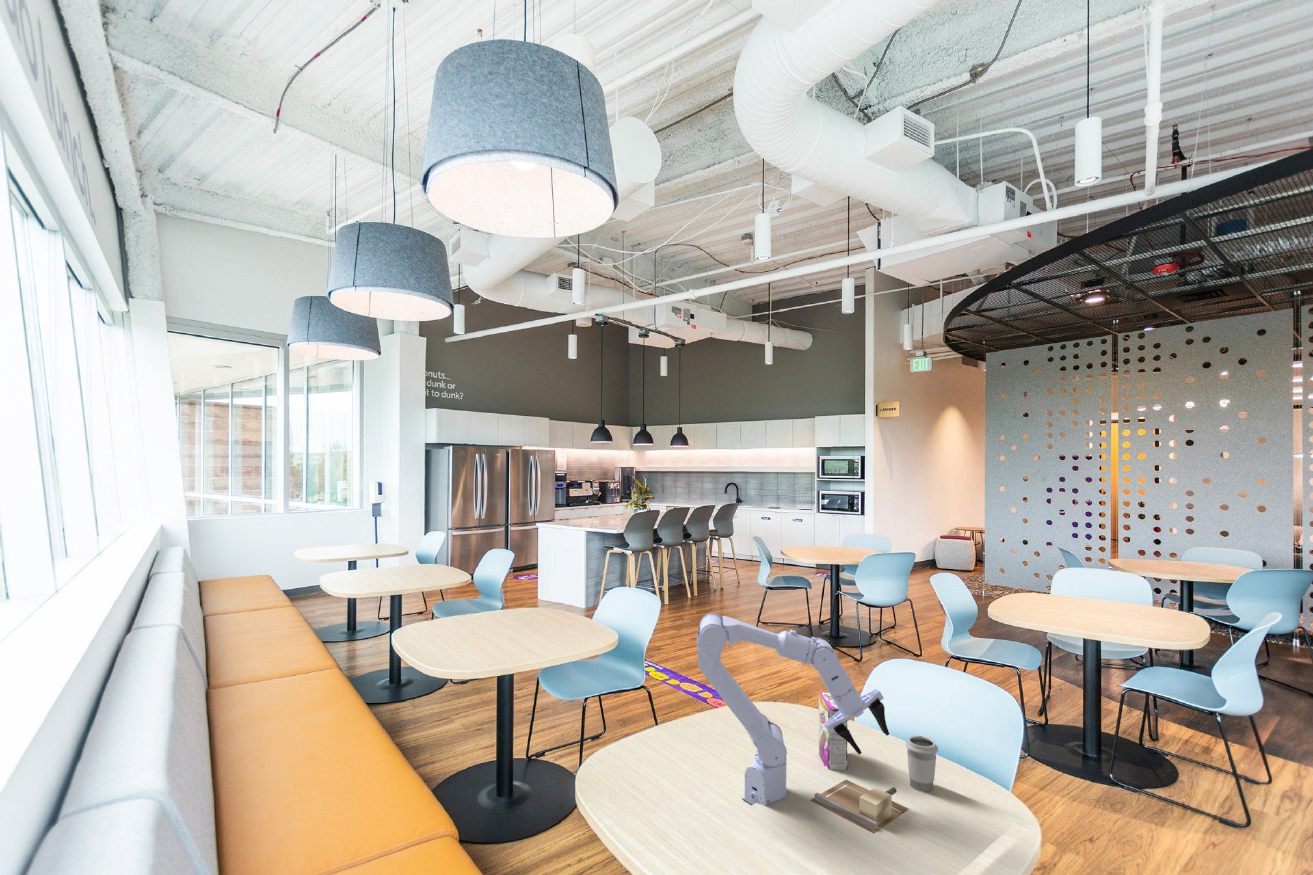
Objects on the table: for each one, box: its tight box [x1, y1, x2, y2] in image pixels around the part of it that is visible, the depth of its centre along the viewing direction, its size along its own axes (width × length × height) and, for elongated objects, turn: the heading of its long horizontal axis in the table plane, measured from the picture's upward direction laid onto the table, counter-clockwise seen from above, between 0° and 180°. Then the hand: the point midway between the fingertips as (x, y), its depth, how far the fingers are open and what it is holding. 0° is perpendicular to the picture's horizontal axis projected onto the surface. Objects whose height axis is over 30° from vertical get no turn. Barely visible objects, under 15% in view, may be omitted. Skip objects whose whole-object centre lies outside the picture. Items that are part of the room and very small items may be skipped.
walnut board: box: [809, 779, 910, 834], centre depth 146 cm, size 14×16×3 cm
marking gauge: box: [859, 787, 898, 826], centre depth 143 cm, size 10×4×4 cm, turn 130°
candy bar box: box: [818, 691, 848, 771], centre depth 167 cm, size 11×5×16 cm, turn 179°
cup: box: [905, 735, 939, 793], centre depth 154 cm, size 7×7×12 cm
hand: (872, 742), depth 149 cm, fingers open, 7 cm apart
